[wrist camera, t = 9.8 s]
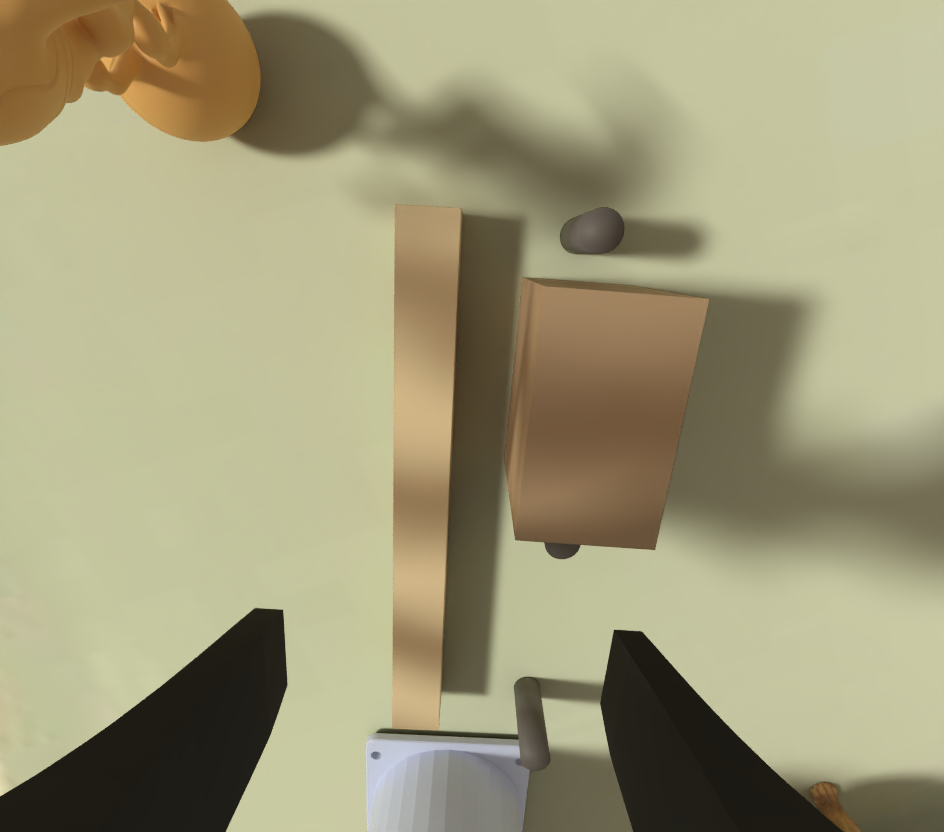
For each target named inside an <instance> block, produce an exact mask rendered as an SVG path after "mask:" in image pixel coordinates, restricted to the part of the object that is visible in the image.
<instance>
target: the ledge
mask: <svg viewBox="0 0 944 832" xmlns="http://www.w3.org/2000/svg"><path fill="white" fill-rule="evenodd" d="M462 216H463V213H462V210H461V208H450V207H433V206H416V205H398V204H395V294H394V502H393V710H392V728H397V729H418V730H439V717H440V704H441V691H442V669H443V646H444V624H445V601H446V578H447V556H448V533H449V510H450V488H451V465H452V443H453V420H454V397H455V375H456V352H457V329H458V307H459V284H460V262H461V239H462ZM623 234H624V223H623V220H622V217H621V216H620V214H619V213H618V212H617V211H615V210H614V209H611V208H608V207H601V208H597V209H595V210H592V211H590V212H587V213H585V214H582V215H580V216H577V217H575V218H572V219H570V220H569V221H567V222H566V223H565V224H564V226H563V228H562V230H561V233H560V241H561V244H562V246H563V248H564V249H565V250H566V251H567V252H569V253H572V254H596V253H606V252H609V251H611V250H613V249H614V248H616V247H617V246H618V244H619V243H620V242H621V240H622V238H623ZM544 544H545V548H546V550H547V552H548V553H549V554H550V555H551V556H552V557H554V558H557V559H567V558H570V557H572V556H573V555H575V554H576V553H577V552H578V550H579V548H580V545H577V544H563V543H548V542H544ZM514 694H515V705H516V716H517V727H518V738H519V749H520V761H521V764H522V765H523V767H525V768H526V769H528V770H532V771H538V770H542V769H544V768H546V767H547V766H548V765H549V763H550V753H549V747H548V740H547V733H546V727H545V720H544V713H543V707H542V700H541V693H540V687H539V683H538V682H537V681H536V680H535V679H533V678H529V677H525V678H521V679H519V680H518V681H517V682H516V683H515V685H514Z"/></svg>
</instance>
